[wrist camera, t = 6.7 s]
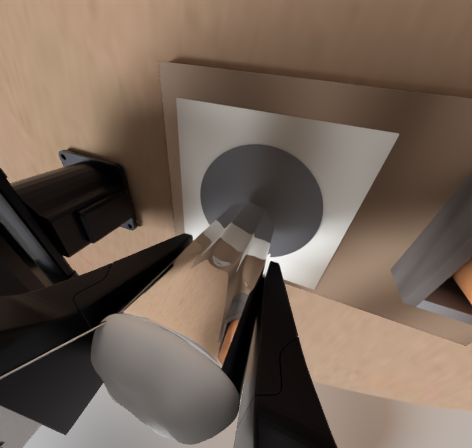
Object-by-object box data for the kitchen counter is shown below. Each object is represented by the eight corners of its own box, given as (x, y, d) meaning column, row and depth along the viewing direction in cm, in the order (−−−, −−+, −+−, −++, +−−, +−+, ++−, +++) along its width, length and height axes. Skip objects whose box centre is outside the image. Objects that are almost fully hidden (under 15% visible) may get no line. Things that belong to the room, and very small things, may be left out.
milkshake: (249, 160, 10) (-38, 418, 2) (302, 242, 11) (248, 582, 3) (193, 200, 12) (-28, 380, 5) (242, 262, 14) (133, 481, 6)
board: (181, 240, 19) (159, 264, 16) (167, 62, 11) (122, 54, 8) (459, 334, 14) (489, 388, 11) (777, 135, 6) (1081, 167, 4)
